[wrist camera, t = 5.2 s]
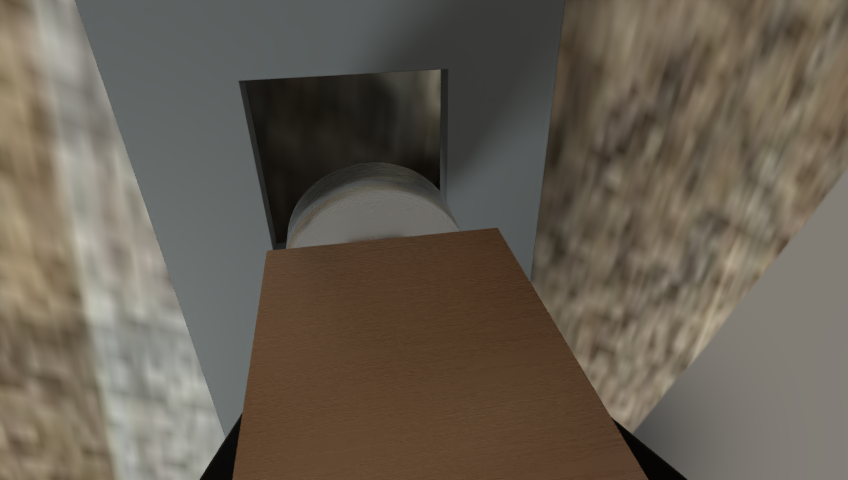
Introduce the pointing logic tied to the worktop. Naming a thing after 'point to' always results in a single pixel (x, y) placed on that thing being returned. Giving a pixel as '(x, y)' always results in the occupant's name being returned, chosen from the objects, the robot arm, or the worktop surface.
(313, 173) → the worktop surface
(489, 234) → the brown and silver block
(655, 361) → the worktop surface
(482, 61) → the keyhole plate
